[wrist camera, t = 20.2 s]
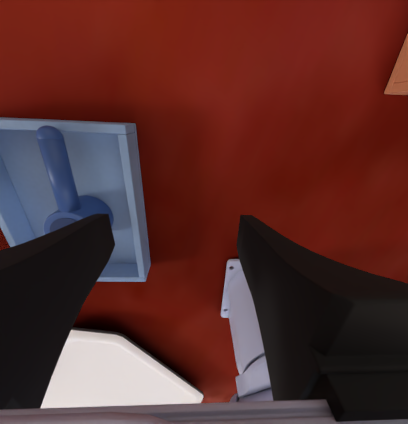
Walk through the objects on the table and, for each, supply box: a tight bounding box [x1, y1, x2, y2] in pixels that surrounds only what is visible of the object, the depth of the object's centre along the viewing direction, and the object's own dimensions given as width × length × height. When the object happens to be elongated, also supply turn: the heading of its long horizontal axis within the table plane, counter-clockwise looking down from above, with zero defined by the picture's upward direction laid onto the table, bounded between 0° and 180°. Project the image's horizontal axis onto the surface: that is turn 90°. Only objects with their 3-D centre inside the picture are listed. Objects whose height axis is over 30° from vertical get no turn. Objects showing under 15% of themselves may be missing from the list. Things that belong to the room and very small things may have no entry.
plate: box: [41, 327, 204, 408], centre depth 31 cm, size 29×29×2 cm
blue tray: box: [0, 117, 151, 282], centre depth 17 cm, size 14×11×2 cm
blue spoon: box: [36, 125, 114, 234], centre depth 15 cm, size 10×4×3 cm, turn 176°
